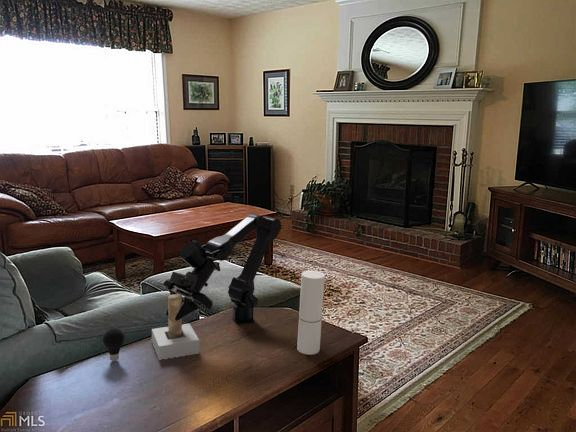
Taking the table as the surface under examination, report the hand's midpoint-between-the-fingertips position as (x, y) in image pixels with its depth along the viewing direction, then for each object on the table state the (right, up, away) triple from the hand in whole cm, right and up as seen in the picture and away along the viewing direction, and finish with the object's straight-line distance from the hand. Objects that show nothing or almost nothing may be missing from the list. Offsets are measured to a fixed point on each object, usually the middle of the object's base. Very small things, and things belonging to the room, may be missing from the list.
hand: (171, 317), depth 145 cm
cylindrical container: (+42, -12, +7) cm, 44 cm away
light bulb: (-15, -11, -6) cm, 20 cm away
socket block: (0, -10, +3) cm, 11 cm away
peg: (+1, -6, +2) cm, 7 cm away
